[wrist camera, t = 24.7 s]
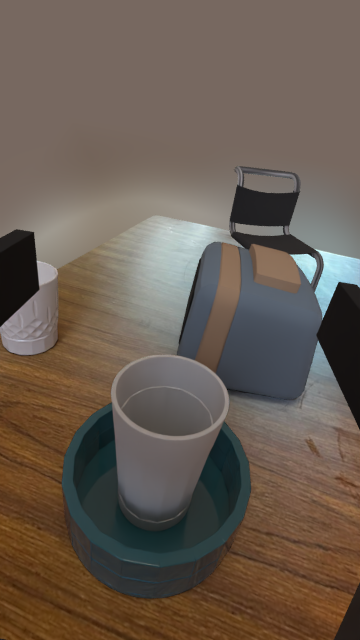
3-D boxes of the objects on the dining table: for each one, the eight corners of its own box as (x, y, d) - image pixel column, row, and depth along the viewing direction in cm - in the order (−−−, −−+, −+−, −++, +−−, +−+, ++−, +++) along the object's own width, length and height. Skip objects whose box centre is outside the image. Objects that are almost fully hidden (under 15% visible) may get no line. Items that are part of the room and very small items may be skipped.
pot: (31, 577, 23) (23, 542, 20) (98, 417, 35) (98, 382, 33) (240, 617, 23) (259, 586, 20) (233, 441, 35) (244, 407, 32)
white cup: (-2, 328, 46) (-14, 260, 41) (58, 321, 49) (54, 258, 44) (-3, 363, 40) (-17, 290, 35) (65, 353, 43) (61, 285, 38)
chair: (262, 275, 75) (293, 172, 64) (306, 316, 61) (355, 192, 50) (210, 275, 71) (232, 164, 60) (244, 318, 58) (281, 185, 46)
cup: (110, 551, 24) (115, 447, 18) (105, 457, 31) (108, 355, 25) (211, 532, 26) (247, 433, 20) (187, 447, 33) (209, 352, 27)
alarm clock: (185, 318, 55) (201, 223, 46) (283, 336, 54) (317, 243, 46) (170, 385, 41) (189, 266, 33) (302, 410, 40) (356, 295, 32)
